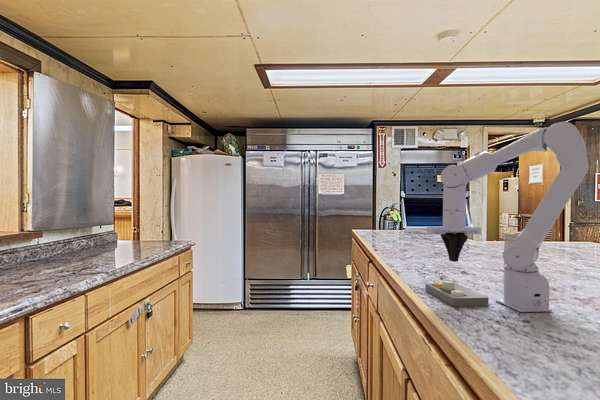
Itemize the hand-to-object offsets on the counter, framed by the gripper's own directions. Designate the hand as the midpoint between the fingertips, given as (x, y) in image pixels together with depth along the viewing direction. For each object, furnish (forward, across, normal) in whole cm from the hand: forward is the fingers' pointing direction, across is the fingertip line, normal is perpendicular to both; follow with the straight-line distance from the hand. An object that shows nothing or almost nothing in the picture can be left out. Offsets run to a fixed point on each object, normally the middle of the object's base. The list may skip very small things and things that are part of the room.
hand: (453, 261), depth 101 cm
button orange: (+9, +3, -2) cm, 9 cm away
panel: (+9, +2, +3) cm, 10 cm away
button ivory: (+9, +3, +7) cm, 12 cm away
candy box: (+9, -29, -14) cm, 34 cm away
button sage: (+7, +3, +3) cm, 8 cm away
